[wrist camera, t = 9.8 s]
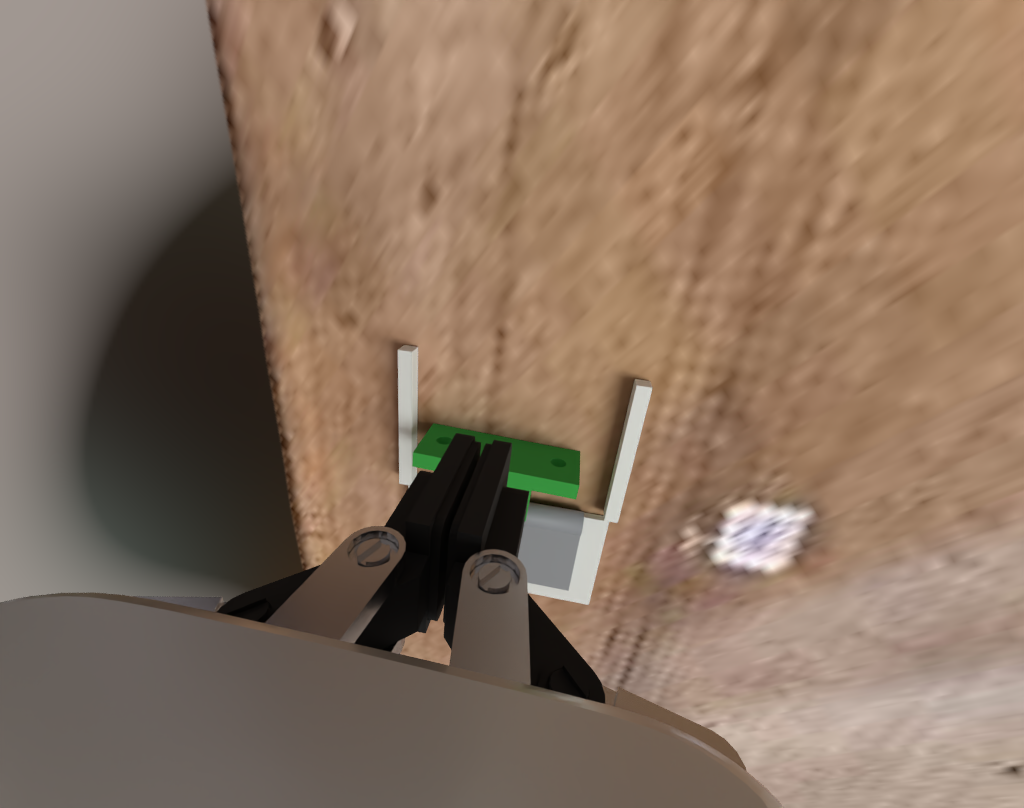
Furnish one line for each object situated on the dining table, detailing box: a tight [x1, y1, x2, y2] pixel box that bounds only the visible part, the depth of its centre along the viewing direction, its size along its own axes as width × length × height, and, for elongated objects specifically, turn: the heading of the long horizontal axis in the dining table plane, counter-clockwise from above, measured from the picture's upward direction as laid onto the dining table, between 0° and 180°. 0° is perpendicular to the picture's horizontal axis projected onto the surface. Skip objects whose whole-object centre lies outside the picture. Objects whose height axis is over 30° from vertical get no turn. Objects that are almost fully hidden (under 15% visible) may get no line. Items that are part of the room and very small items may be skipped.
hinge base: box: [398, 345, 652, 605], centre depth 33 cm, size 20×17×2 cm
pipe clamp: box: [412, 423, 580, 521], centre depth 31 cm, size 11×4×5 cm, turn 82°
